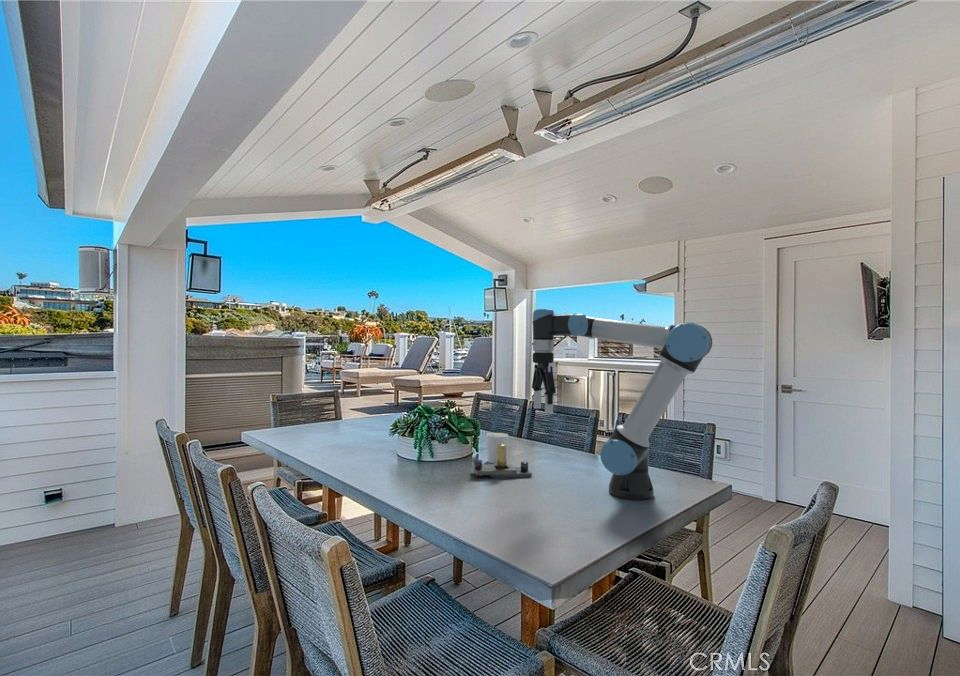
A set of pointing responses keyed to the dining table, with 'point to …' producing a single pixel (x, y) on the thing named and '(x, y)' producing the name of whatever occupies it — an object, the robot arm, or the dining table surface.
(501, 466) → the toggle switch lever
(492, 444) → the candle holder
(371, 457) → the dining table surface
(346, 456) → the dining table surface
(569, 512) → the dining table surface
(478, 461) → the toggle switch plate
